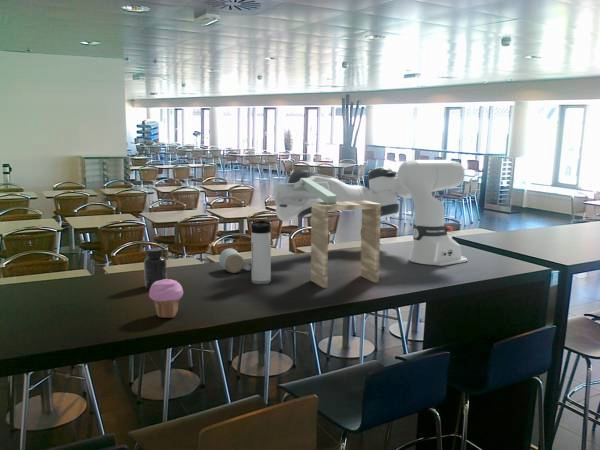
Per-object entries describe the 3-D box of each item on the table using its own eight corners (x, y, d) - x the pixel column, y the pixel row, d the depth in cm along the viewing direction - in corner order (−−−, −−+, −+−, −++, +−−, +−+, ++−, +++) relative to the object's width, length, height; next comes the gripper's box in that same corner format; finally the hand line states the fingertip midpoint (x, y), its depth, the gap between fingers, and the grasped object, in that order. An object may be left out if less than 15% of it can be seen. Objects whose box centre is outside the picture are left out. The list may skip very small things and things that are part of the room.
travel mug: (272, 279, 185) (272, 220, 182) (269, 284, 178) (268, 223, 175) (253, 279, 185) (253, 220, 182) (250, 284, 179) (249, 223, 176)
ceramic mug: (225, 274, 191) (225, 253, 190) (218, 269, 198) (218, 248, 197) (254, 272, 195) (254, 251, 194) (246, 267, 202) (247, 247, 201)
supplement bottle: (160, 282, 180) (158, 246, 178) (171, 286, 175) (170, 249, 173) (140, 286, 175) (139, 249, 173) (151, 290, 170) (150, 252, 169)
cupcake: (181, 321, 142) (180, 283, 141) (147, 321, 142) (145, 283, 140) (185, 310, 151) (184, 274, 150) (153, 311, 150) (152, 275, 149)
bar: (308, 184, 199) (308, 177, 198) (336, 203, 178) (336, 195, 177) (299, 184, 198) (300, 178, 197) (327, 203, 176) (327, 196, 176)
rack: (364, 275, 191) (366, 200, 187) (378, 282, 182) (380, 203, 178) (310, 280, 184) (311, 202, 180) (323, 287, 175) (324, 205, 171)
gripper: (323, 204, 209) (337, 188, 197) (272, 206, 201) (283, 190, 189) (320, 189, 211) (333, 172, 199) (269, 190, 203) (280, 173, 191)
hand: (308, 181), depth 194 cm, fingers closed on bar, 3 cm apart
